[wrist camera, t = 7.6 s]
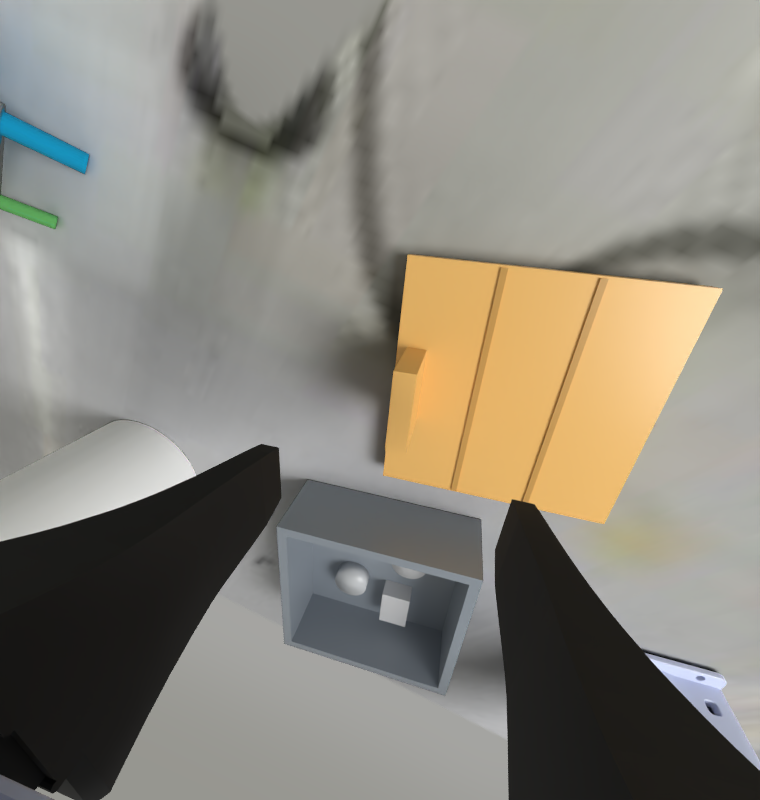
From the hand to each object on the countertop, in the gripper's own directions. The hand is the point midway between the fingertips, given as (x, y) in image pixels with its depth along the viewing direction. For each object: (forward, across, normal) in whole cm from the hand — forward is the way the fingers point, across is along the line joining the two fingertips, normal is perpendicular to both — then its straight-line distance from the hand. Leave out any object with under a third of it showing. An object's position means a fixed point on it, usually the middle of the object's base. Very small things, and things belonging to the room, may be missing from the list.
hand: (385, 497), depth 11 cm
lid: (+10, -5, 0) cm, 11 cm away
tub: (+10, +1, +15) cm, 18 cm away
